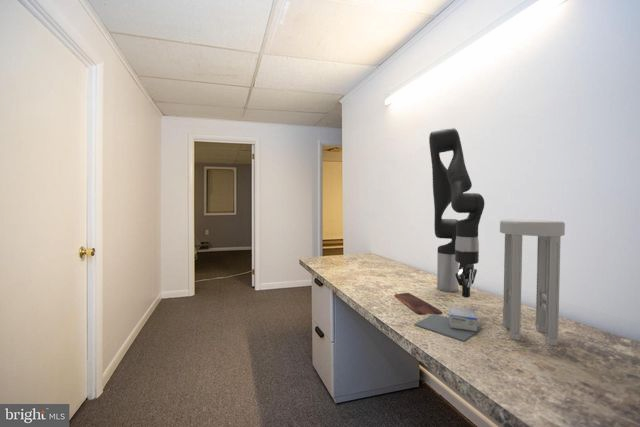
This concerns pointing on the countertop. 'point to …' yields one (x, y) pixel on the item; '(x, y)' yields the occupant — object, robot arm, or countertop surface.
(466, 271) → the robot arm
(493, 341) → the countertop surface
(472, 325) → the medicine box
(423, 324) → the mat
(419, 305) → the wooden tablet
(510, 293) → the stool
